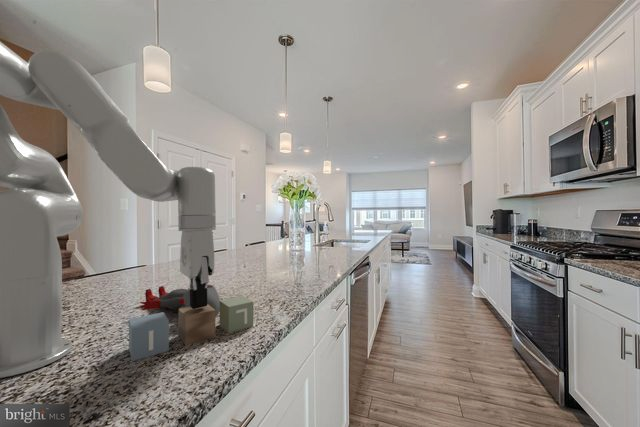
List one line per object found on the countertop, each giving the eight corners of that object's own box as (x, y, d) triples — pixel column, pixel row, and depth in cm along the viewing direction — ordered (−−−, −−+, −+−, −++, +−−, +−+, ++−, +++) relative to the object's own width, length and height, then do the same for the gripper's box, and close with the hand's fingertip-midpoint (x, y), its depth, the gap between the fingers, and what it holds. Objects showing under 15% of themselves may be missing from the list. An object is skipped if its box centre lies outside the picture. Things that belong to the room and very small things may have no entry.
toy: (178, 282, 89) (235, 276, 73) (181, 311, 88) (240, 312, 72) (122, 294, 76) (177, 291, 60) (125, 328, 75) (182, 334, 59)
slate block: (131, 361, 49) (132, 328, 49) (128, 349, 53) (129, 319, 53) (168, 351, 52) (169, 320, 52) (163, 340, 57) (163, 312, 57)
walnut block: (185, 346, 54) (185, 316, 54) (178, 336, 59) (178, 308, 59) (215, 337, 58) (215, 309, 58) (206, 328, 63) (206, 303, 63)
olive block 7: (229, 333, 60) (229, 307, 60) (219, 325, 65) (219, 300, 65) (253, 326, 64) (253, 301, 64) (242, 319, 69) (242, 295, 69)
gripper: (171, 224, 62) (172, 302, 62) (187, 224, 51) (189, 321, 51) (204, 222, 67) (205, 295, 67) (226, 223, 56) (228, 311, 56)
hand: (198, 306), depth 59 cm, fingers closed
